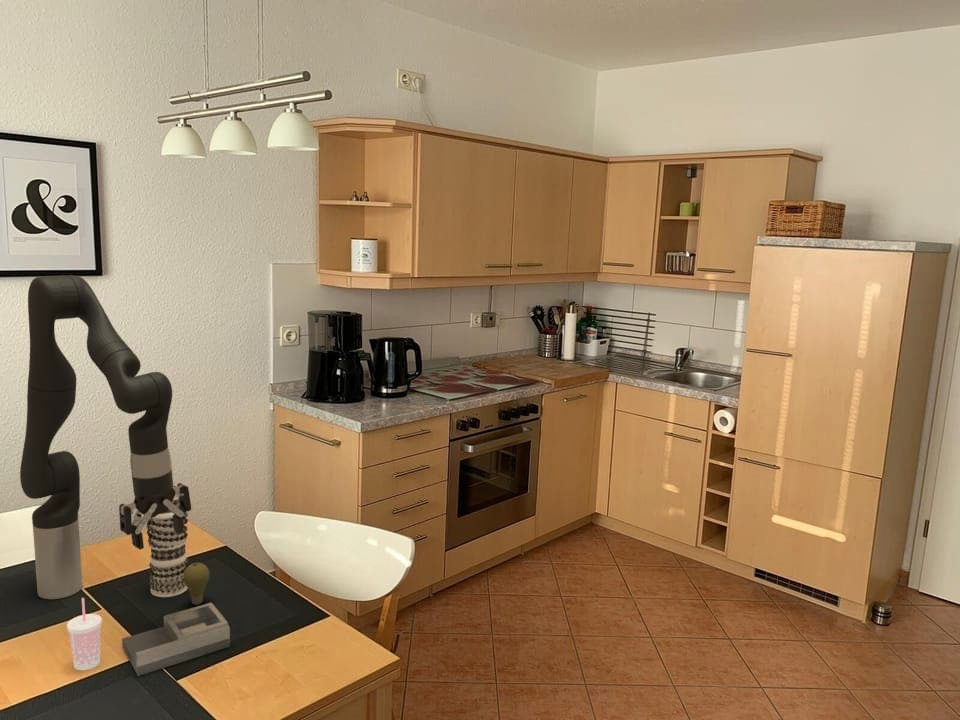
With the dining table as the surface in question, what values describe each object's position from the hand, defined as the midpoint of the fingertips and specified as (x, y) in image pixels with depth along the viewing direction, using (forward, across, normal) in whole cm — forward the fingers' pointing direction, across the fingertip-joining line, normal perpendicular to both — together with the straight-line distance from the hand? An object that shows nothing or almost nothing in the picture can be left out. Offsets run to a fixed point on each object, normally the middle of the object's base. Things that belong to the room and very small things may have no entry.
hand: (159, 539), depth 156 cm
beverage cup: (+20, +18, +1) cm, 26 cm away
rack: (+20, +3, +9) cm, 22 cm away
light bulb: (+22, -9, -4) cm, 24 cm away
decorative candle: (+23, -9, -15) cm, 28 cm away
